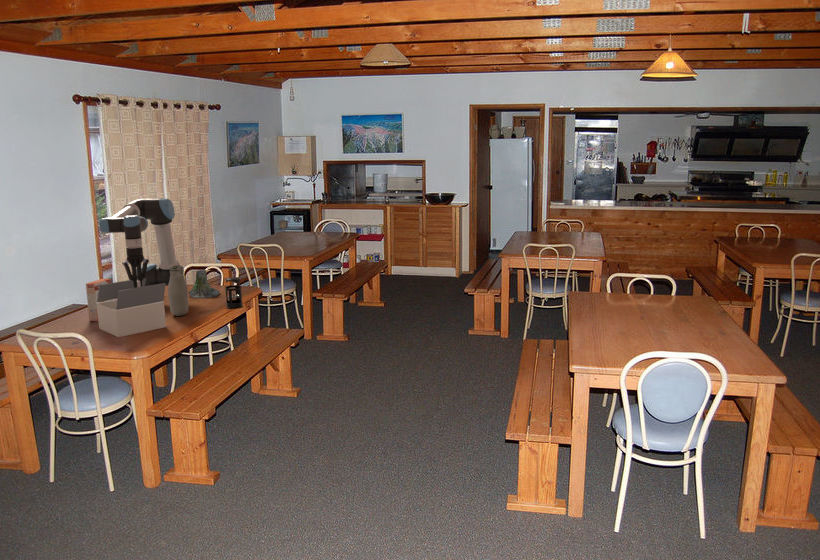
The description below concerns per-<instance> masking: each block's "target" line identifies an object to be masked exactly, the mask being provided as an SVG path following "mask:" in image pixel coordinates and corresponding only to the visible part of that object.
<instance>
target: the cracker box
mask: <svg viewBox="0 0 820 560" xmlns="http://www.w3.org/2000/svg"><path fill="white" fill-rule="evenodd" d="M108 283H112V279H111V278H100V279H97V280H94V281H91V282H86V283H85V290H86V298H87V308H88V309H87V311H88V321H89V322H98V313H97V303H101V302H106V301H112V300H114V299H111V300H106V301H100V302H97V299H98V292H99V286H100V285H102V284H108ZM98 323H99V322H98Z"/></svg>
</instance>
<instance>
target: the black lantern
mask: <svg viewBox="0 0 820 560" xmlns="http://www.w3.org/2000/svg"><path fill="white" fill-rule="evenodd" d="M236 269H237V268H236V267H229V268H228V270H229V271H231V274H232V275H231V276H230V277H226V278H224V280H225V284H226V283H228V282H232V284H231V285H227V286H225V287H224V288H225V298H226V302H225V303H226V307H225V308H226V309H228V310H237V309H242V308H243V307H244V305H243V297H242V296H243V293H242V286H241V285H240V284H239V283H241V280H242V277H240V276H234V274H233V273H234V270H236ZM234 283H235V284H236V285H234Z"/></svg>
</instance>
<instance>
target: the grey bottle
mask: <svg viewBox="0 0 820 560" xmlns="http://www.w3.org/2000/svg"><path fill="white" fill-rule="evenodd" d="M182 266H183V265H180V266H179V265H175V266H172V267H170V281H169V285H168V286H167V293H168V302H169V303H168V305H169V311H170V313H171V315H173V316H176V317H180V316H181V317H182V316H185V315H186V314H187V313H188V311H189V291H188V283H187V281H186V278H185V273H184V272H185V270H184V269H183V267H184V266H183V267H182Z"/></svg>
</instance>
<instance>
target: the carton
mask: <svg viewBox="0 0 820 560" xmlns="http://www.w3.org/2000/svg"><path fill="white" fill-rule="evenodd" d="M116 307H117V299H113V300H112V301H106V302H101V303H97V313H98V329H99V330H101V331H103V332H105V333H108V334H110V335H113V336H115V337H117V338H121V337H126V336H129V335H135V334H140V333H144V332H149V331H154V330H158V329H163V328H166V327H167V324H166V323H167V322H166V312H165V302H164V300H163V301H161V302H156V303H151V304H145V305H140V306H135V307H129V308H124V309H119V310H117V309H116Z"/></svg>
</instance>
